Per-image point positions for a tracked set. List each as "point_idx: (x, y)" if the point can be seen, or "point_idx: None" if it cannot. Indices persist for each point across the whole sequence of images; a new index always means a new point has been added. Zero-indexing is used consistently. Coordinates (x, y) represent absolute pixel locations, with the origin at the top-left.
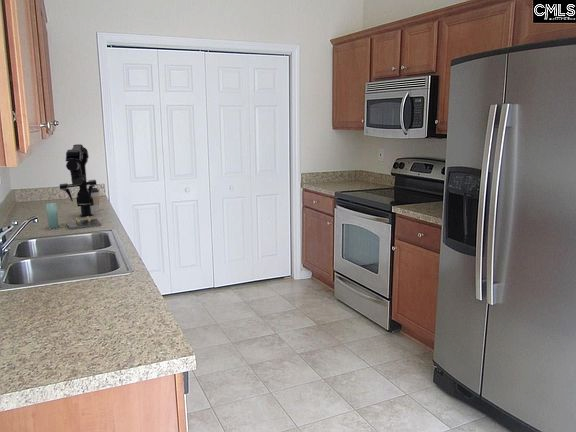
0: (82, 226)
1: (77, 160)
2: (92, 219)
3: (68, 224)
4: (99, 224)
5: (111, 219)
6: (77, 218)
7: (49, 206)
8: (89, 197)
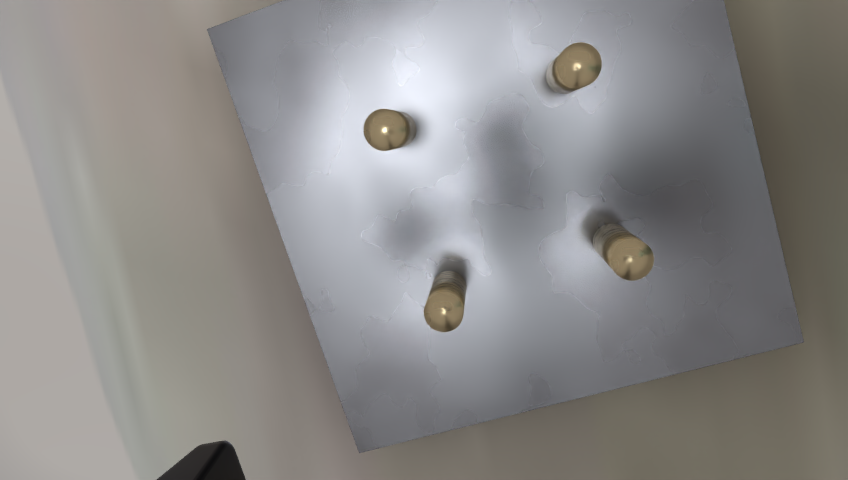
0: None
1: None
2: (412, 422)
3: (740, 125)
4: (231, 20)
5: None
6: (616, 241)
7: None
8: (212, 466)
